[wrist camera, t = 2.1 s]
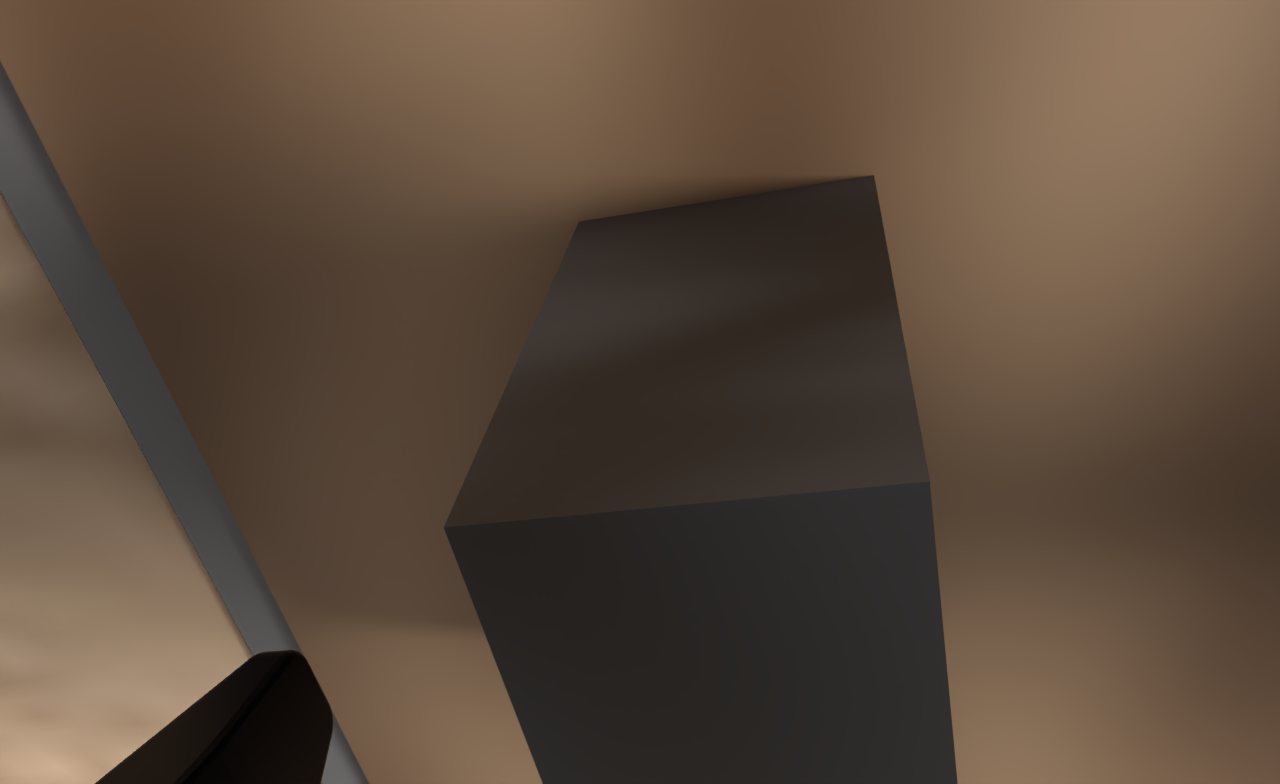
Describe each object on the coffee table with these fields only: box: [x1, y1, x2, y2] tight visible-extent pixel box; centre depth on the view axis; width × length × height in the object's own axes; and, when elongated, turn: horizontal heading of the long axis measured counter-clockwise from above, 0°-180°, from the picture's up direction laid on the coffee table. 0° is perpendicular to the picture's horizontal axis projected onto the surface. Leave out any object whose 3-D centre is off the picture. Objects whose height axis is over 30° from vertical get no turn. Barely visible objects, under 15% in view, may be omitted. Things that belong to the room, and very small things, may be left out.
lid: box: [0, 0, 1280, 784], centre depth 10 cm, size 14×14×6 cm
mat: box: [0, 61, 369, 784], centre depth 13 cm, size 17×17×1 cm
